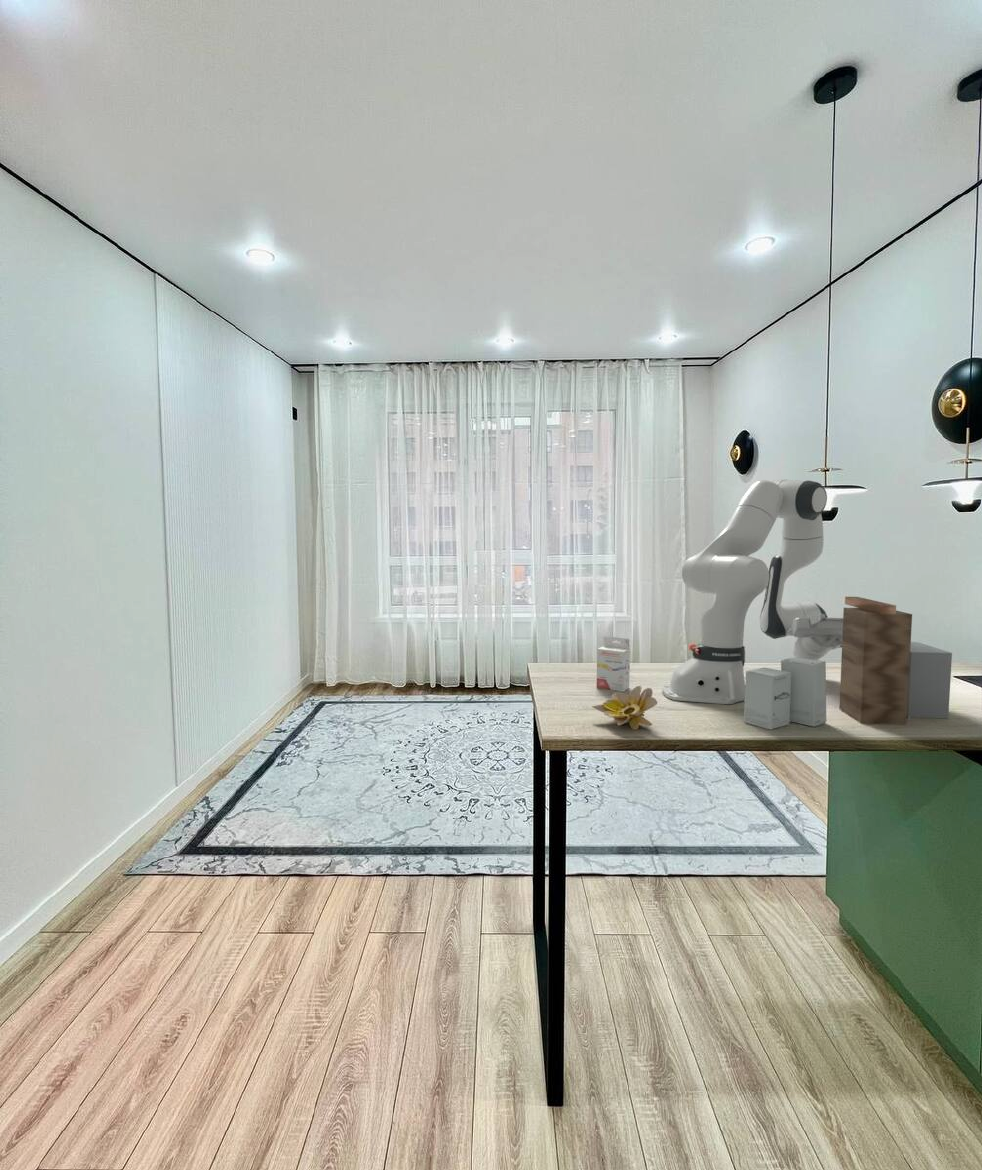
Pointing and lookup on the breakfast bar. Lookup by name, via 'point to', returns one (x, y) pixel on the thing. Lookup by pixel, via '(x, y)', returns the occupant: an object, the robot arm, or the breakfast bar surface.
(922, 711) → the grey block
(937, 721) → the breakfast bar surface
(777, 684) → the supplement box
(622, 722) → the decorative flower
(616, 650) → the ink cartridge box
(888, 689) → the walnut stand
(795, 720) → the skincare box
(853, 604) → the slat
